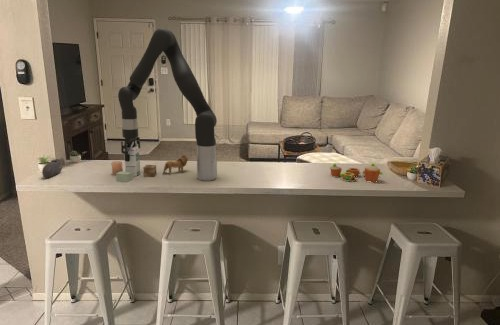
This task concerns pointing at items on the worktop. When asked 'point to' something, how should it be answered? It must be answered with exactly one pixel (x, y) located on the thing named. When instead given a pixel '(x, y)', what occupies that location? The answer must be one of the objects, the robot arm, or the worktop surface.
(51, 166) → the perforated stone tool
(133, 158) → the syrup box
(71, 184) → the worktop surface
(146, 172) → the walnut block
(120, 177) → the sage painted block
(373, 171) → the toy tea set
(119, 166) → the orange-brown rounded piece
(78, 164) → the worktop surface
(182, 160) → the lion figurine
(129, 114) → the robot arm
